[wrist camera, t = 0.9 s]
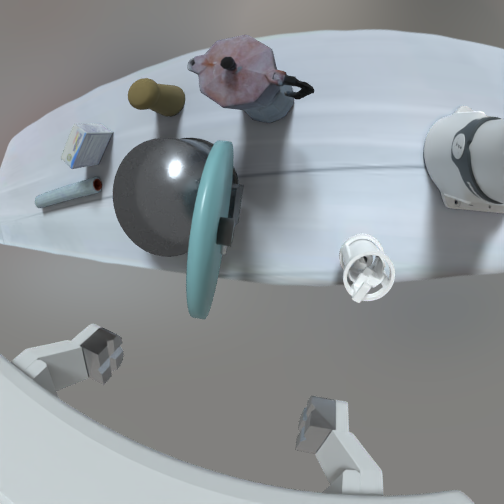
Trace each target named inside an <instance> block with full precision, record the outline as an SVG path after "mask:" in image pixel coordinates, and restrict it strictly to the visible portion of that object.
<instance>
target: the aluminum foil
mask: <svg viewBox="0 0 504 504" xmlns="http://www.w3.org/2000/svg"><path fill="white" fill-rule="evenodd" d="M101 190H102V183H101V181H100V178H98V177H94V178H90V179H87V180H84V181H80V182H77V183H74V184H71V185H68V186H64V187H61V188H58V189H55V190H52V191H49V192H46V193H44V194H41V195H38V196H37V197H36V198H35V205H36V206H37V207H38V208H43V207H47V206H50V205H53V204H57V203H61V202H64V201H68V200H72V199H75V198H79V197H83V196H87V195H91V194H95V193H99V192H100V191H101Z"/></svg>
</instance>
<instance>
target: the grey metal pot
mask: <svg viewBox="0 0 504 504" xmlns="http://www.w3.org/2000/svg"><path fill="white" fill-rule="evenodd" d="M213 145H214V144H212V143H210V142H208V141H205V140H202V139H197V138H182V139H166V138H160V139H152V140H149V141H146V142H143V143H141V144H139V145H138V146H136V147H135V148H133V149H132V150H131V151H130V152H129V153H128V154H127V155H126V157H125V158H124V159H123V161H122V162H121V164H120V166H119V168H118V170H117V173H116V176H115V180H114V185H113V203H114V209H115V213H116V216H117V219H118V221H119V223H120V225H121V227H122V229H123V230H124V232H125V233H126V235H127V236H128V237H129V238H130V239H131V240H132V241H133V242H134V243H135V244H136V245H137V246H139V247H140V248H142V249H143V250H145V251H147V252H149V253H152V254H155V255H159V256H167V257H171V256H178V255H182V254H184V253H187V252H188V247H189V239H190V231H191V224H192V218H193V212H194V207H195V202H196V197H197V193H198V188H199V184H200V180H201V177H202V173H203V170H204V167H205V164H206V161H207V158H208V155H209V153H210V151H211V149H212V147H213ZM242 192H243V185H240V184H239V183H238V178H237V174H236V171H235V168H234V166H233V176H232V187H231V196H230V205H229V213H228V218H233V219H235V225H236V224H237V223H238V221H239V213H240V206H241V199H242Z"/></svg>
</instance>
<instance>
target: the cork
mask: <svg viewBox="0 0 504 504" xmlns="http://www.w3.org/2000/svg"><path fill="white" fill-rule="evenodd" d="M128 100H129V102H130V104H131V105H132V106H133V107H134V108H136V109H140V110H144V109H151V110H153V111H155V112H157V113H159V114H162V115H164V116H173V115H176V114H177V113H179V112H180V111H181V109H182V108H183V106H184V104H185V94H184V92H183V90H182V89H181V88H179V87H177V86H173V85H163V84H157V83H156V82H155V81H153V80H151V79H148V78H145V79H139V80H137V81H136V82H135V83H133V84H132V86H131V87H130V89H129V91H128Z"/></svg>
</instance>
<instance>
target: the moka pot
mask: <svg viewBox="0 0 504 504" xmlns="http://www.w3.org/2000/svg"><path fill="white" fill-rule="evenodd" d="M187 68H188V70H189V71H192V72H194V73H196V74H198V76H199V87H200V91H201V93H203V94H204V95H206V96H207V97H209V98H210V99H212V100H213V101H215V102H216V103H217V104H219V105H220V106H222V107H223V108H230V109H239V110H244V111H245V112H246V113H247V114H248V115H249V116H250V117H251V118H252V119H253V120H256V121H261V122H266V123H270V122H273V121H276V120H279V119H281V118H283V117H284V116H286V114H287V113H288V111H289V110H290V109H291V107H292V105H293V104H294V98H295V99H301V98H303V97H305V96H307V95H309V94H311V93H314V89H313V87H312V86H310V85H309V84H308V83H306V82H301V81H299V80H297V79H296V78H295V77H293V76H288V75H287V74H286V72H284V71H280V70H277V67H276V63H275V59H274V54H273V51H272V49H271V48H269V47H268V46H266V45H264V44H263V43H261V42H259V41H257V40H256V39H254V38H252V37H250V36H248V35H242V36H238V37H232V38H228V39H223V40H218V41H216V42H215V43H214V44H213V45H212V47H211V48H210V49H209V50H208V51H207V53H206V54H204V55H201V56H196V57H194V58H192V59H191V60H190V61H189V62H188V65H187ZM292 86H297V87H300V88H302V89H301V90H300V91H299V92H293V90H292Z"/></svg>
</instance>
